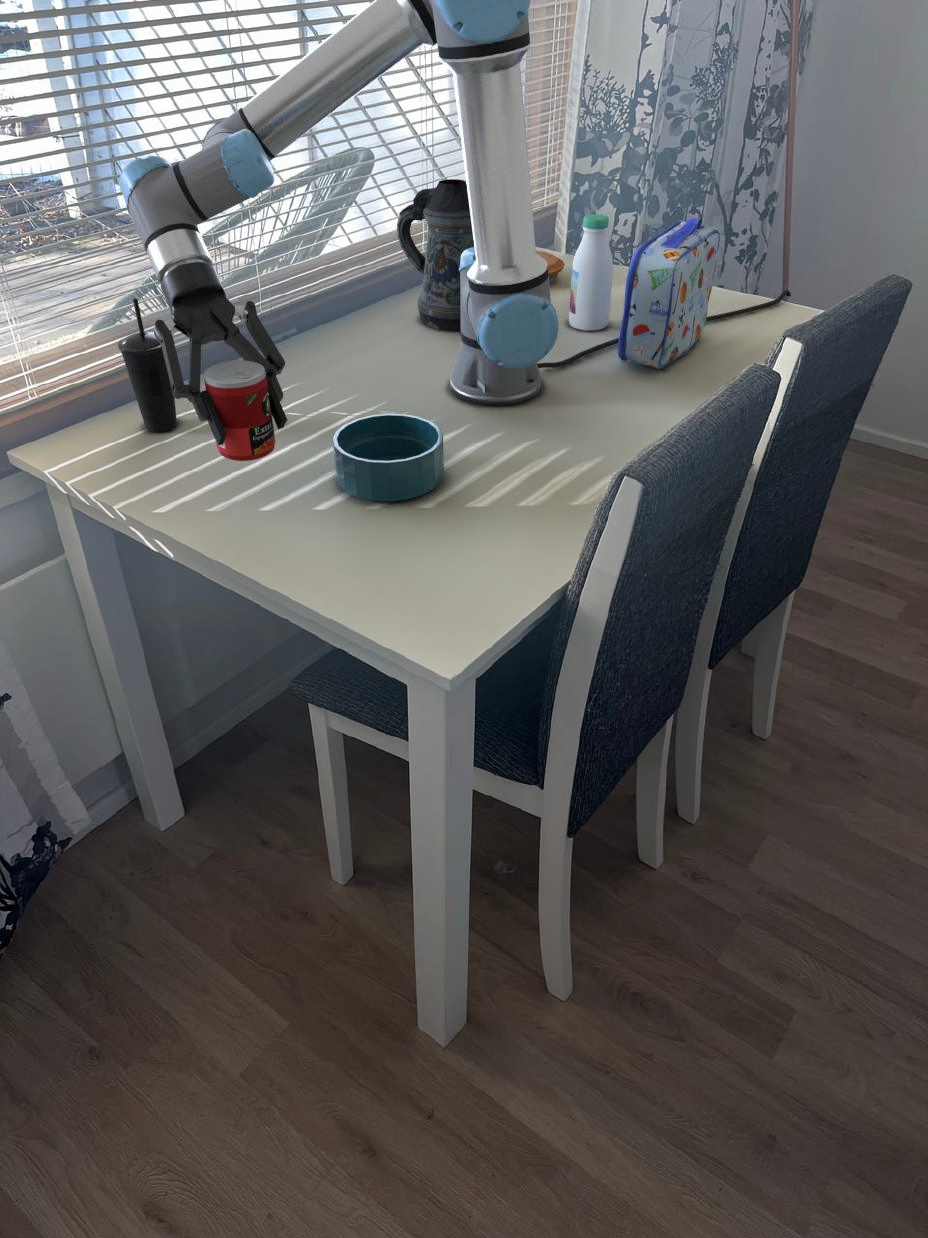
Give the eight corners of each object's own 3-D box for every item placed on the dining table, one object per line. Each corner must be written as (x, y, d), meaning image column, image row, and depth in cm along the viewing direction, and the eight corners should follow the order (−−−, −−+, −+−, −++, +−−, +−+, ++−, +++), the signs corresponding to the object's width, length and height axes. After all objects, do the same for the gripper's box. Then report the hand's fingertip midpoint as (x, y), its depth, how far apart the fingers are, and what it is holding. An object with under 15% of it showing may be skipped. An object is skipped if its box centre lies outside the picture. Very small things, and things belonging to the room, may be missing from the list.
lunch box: (660, 322, 188) (674, 202, 175) (712, 331, 184) (730, 209, 171) (608, 371, 169) (620, 241, 155) (665, 382, 165) (682, 249, 151)
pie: (487, 289, 204) (487, 265, 201) (497, 267, 216) (498, 244, 213) (560, 293, 202) (561, 269, 199) (566, 270, 214) (567, 247, 211)
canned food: (264, 464, 126) (252, 385, 120) (207, 459, 128) (192, 380, 121) (284, 438, 132) (274, 361, 126) (230, 434, 134) (217, 357, 127)
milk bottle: (614, 322, 188) (624, 214, 176) (597, 334, 183) (606, 224, 171) (579, 315, 191) (586, 208, 179) (561, 326, 186) (567, 218, 174)
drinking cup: (195, 419, 154) (172, 293, 142) (168, 439, 148) (142, 310, 136) (154, 412, 156) (128, 288, 144) (126, 432, 150) (96, 304, 138)
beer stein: (508, 329, 185) (511, 190, 170) (408, 335, 183) (402, 195, 168) (492, 300, 198) (493, 170, 183) (398, 306, 196) (392, 174, 181)
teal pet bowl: (432, 449, 145) (430, 409, 141) (453, 497, 133) (452, 455, 129) (331, 459, 143) (327, 419, 139) (344, 510, 131) (340, 467, 127)
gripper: (254, 276, 134) (317, 424, 133) (107, 304, 126) (173, 463, 124) (264, 245, 128) (331, 401, 126) (109, 274, 119) (179, 441, 118)
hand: (252, 432), depth 125 cm, fingers closed on canned food, 8 cm apart
